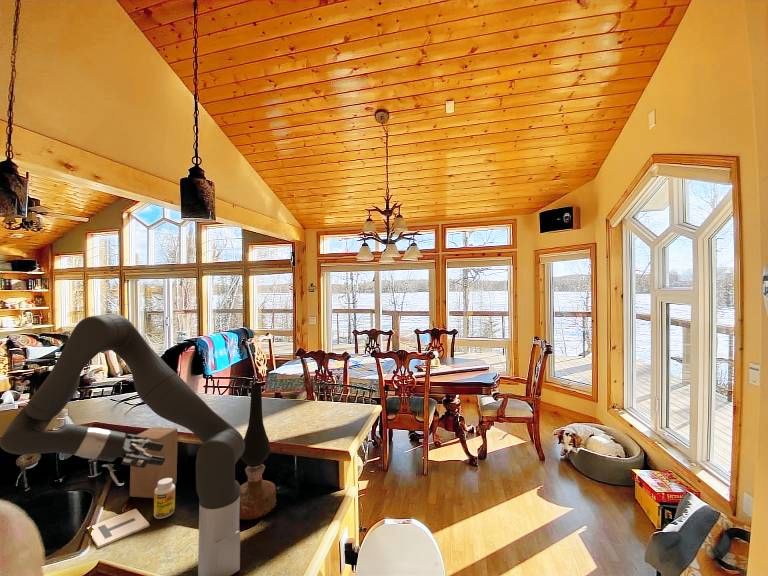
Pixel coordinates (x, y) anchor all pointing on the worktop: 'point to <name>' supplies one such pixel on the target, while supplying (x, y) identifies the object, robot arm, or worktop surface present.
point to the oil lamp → (256, 464)
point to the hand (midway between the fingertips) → (162, 454)
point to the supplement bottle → (164, 498)
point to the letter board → (117, 527)
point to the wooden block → (148, 477)
